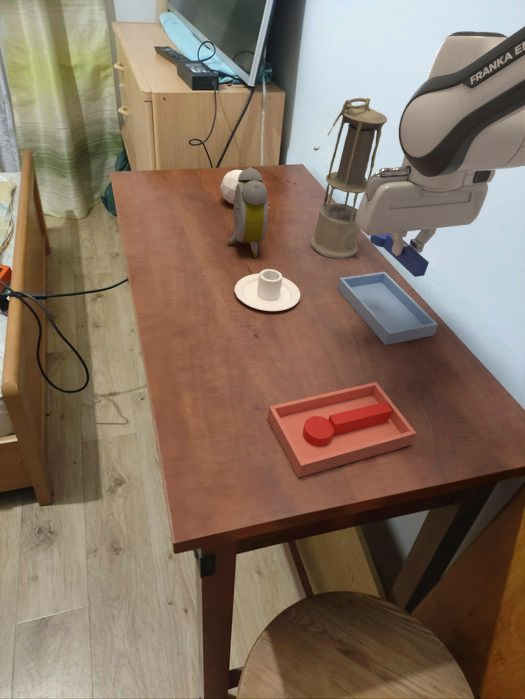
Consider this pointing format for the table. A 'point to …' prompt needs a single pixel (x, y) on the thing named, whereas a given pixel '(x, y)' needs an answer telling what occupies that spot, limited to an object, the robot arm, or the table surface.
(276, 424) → the red tray
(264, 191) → the alarm clock
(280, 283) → the candle holder
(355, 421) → the red spoon
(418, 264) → the blue spoon
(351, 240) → the lamp
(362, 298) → the blue tray
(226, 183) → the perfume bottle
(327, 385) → the table surface
